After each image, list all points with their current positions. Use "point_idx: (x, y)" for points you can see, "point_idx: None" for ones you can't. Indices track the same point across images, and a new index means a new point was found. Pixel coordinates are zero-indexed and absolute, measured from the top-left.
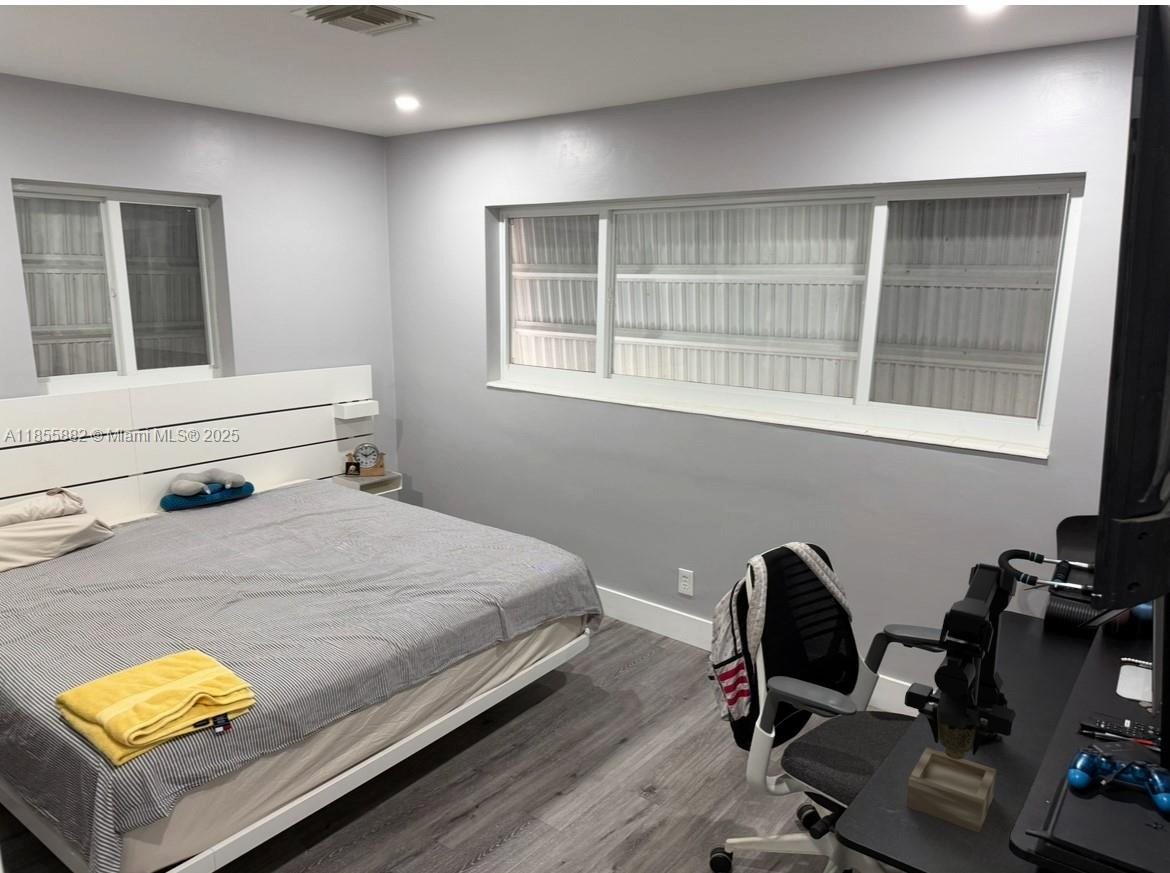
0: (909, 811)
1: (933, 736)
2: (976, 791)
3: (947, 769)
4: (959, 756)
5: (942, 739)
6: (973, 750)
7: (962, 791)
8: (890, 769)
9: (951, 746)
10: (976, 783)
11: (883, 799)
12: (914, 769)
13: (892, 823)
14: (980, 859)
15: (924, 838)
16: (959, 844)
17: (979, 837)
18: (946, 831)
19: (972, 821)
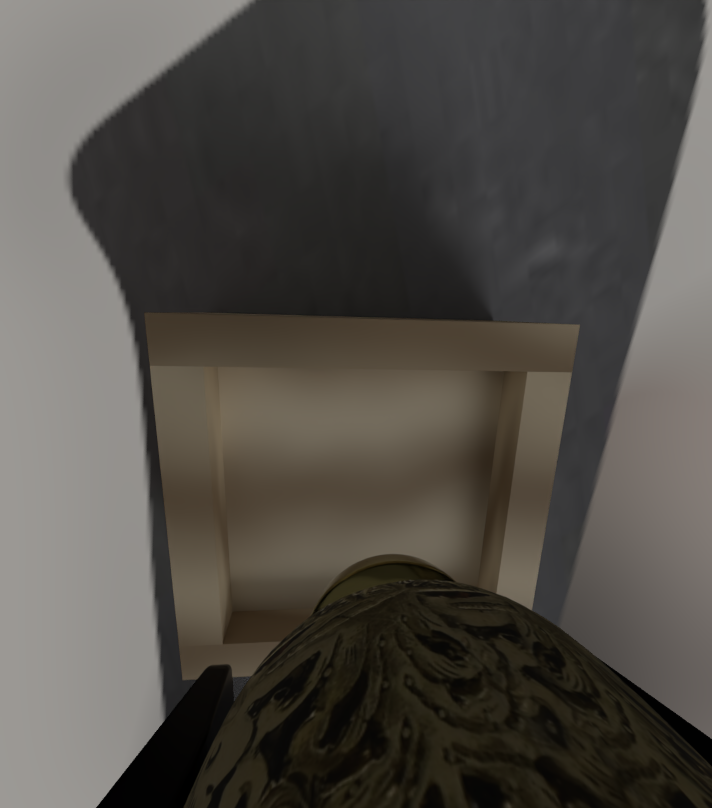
0: (477, 293)
1: (657, 700)
2: (238, 477)
3: None
4: (342, 585)
5: (615, 675)
6: (205, 712)
7: (298, 436)
8: (576, 516)
9: (455, 609)
10: (256, 542)
11: (579, 313)
12: (558, 435)
13: (527, 162)
14: (154, 118)
15: (392, 131)
16: (257, 179)
17: (200, 283)
18: (323, 243)
19: (229, 313)
